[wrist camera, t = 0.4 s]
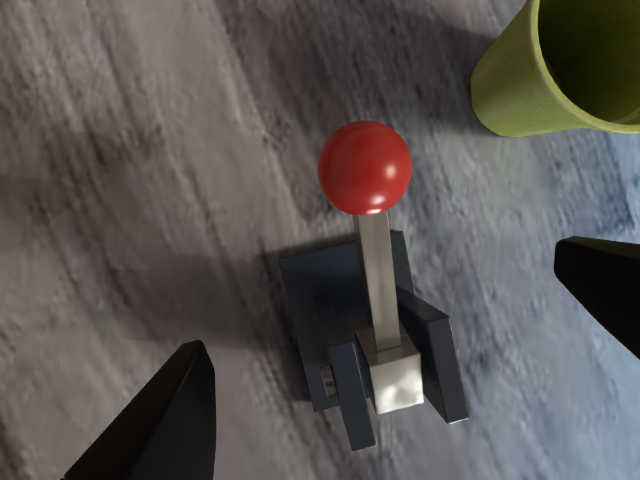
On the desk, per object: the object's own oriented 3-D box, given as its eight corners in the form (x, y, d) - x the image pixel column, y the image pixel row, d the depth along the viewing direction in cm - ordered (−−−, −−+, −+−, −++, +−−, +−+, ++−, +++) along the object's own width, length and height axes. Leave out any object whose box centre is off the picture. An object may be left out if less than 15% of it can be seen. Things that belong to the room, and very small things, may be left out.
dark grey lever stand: (278, 257, 24) (273, 286, 14) (397, 230, 24) (472, 238, 14) (312, 402, 24) (330, 527, 15) (426, 372, 25) (516, 472, 15)
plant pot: (414, 102, 24) (488, 36, 15) (501, -13, 24) (623, -144, 15) (519, 190, 25) (644, 176, 16) (602, 80, 25) (770, 7, 16)
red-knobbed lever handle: (303, 126, 13) (317, 138, 10) (388, 108, 13) (425, 116, 11) (349, 372, 18) (367, 427, 15) (410, 356, 18) (440, 407, 16)
